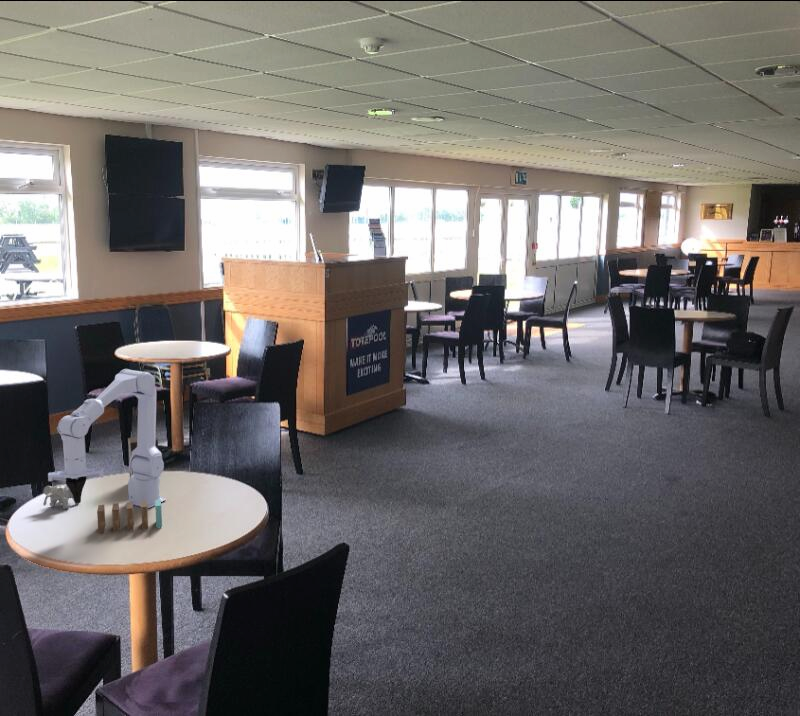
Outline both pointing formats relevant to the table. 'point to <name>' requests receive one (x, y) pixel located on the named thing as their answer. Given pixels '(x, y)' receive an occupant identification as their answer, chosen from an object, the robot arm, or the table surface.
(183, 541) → the table surface
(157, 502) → the teal domino
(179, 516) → the table surface
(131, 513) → the domino
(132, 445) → the coffee box
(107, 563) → the table surface
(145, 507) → the domino
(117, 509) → the domino
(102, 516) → the domino
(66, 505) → the gray elephant figurine
